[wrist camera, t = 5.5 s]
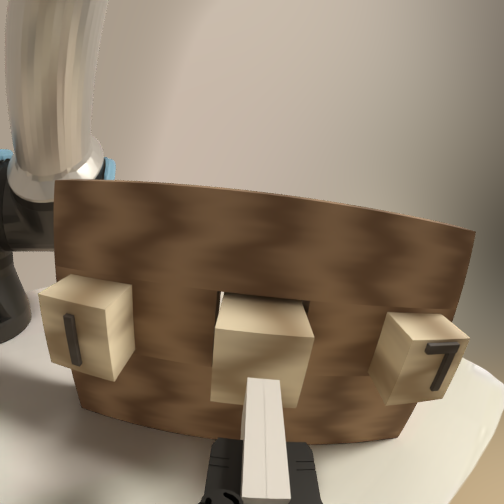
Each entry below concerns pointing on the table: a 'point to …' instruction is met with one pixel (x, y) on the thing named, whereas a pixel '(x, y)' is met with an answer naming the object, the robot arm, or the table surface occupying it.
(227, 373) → the plain block
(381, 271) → the digit board
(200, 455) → the table surface
